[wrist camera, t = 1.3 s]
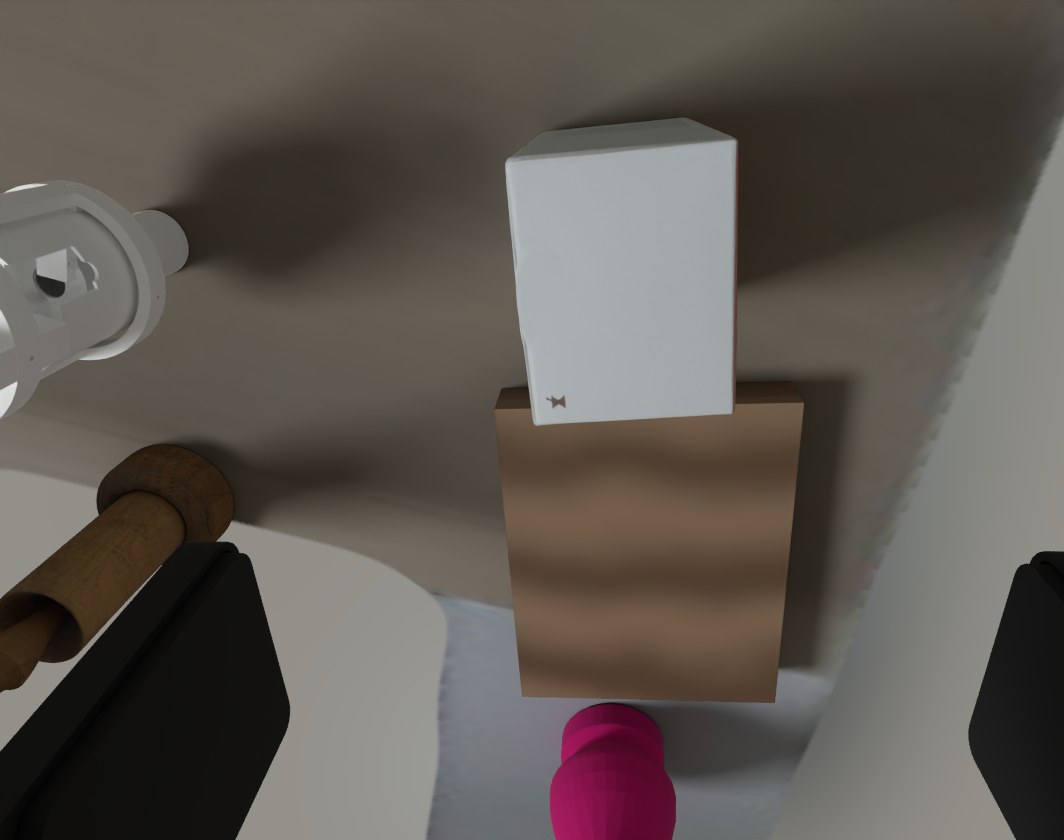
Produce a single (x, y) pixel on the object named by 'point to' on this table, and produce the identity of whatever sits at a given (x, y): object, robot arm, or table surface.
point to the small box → (627, 270)
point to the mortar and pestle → (111, 556)
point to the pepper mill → (612, 778)
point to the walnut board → (651, 548)
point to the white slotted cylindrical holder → (76, 280)
